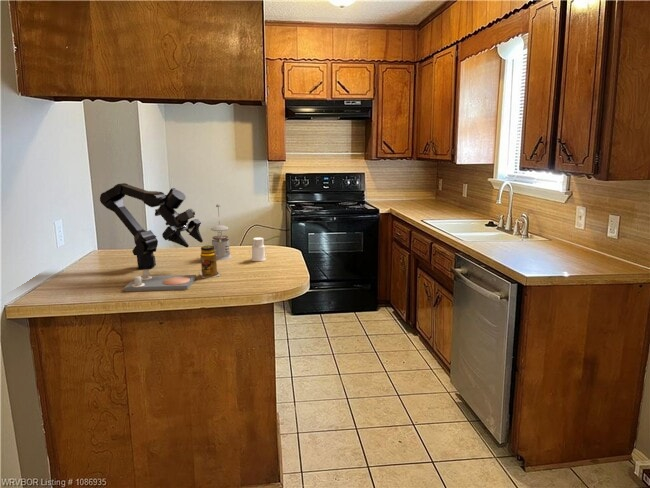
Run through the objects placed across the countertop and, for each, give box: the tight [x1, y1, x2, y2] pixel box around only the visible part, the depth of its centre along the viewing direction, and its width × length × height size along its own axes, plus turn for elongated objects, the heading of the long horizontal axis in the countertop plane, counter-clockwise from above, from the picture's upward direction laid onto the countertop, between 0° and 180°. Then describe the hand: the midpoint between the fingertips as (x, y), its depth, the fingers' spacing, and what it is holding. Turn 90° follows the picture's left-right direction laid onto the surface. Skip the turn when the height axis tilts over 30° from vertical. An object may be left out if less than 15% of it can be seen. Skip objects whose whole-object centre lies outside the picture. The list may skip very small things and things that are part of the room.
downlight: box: [248, 237, 268, 262], centre depth 216 cm, size 8×7×10 cm
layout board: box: [124, 269, 197, 292], centre depth 182 cm, size 23×14×5 cm, turn 93°
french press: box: [210, 203, 233, 261], centre depth 221 cm, size 10×12×25 cm
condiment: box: [199, 245, 221, 279], centre depth 194 cm, size 7×8×12 cm
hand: (195, 244), depth 195 cm, fingers open, 9 cm apart
